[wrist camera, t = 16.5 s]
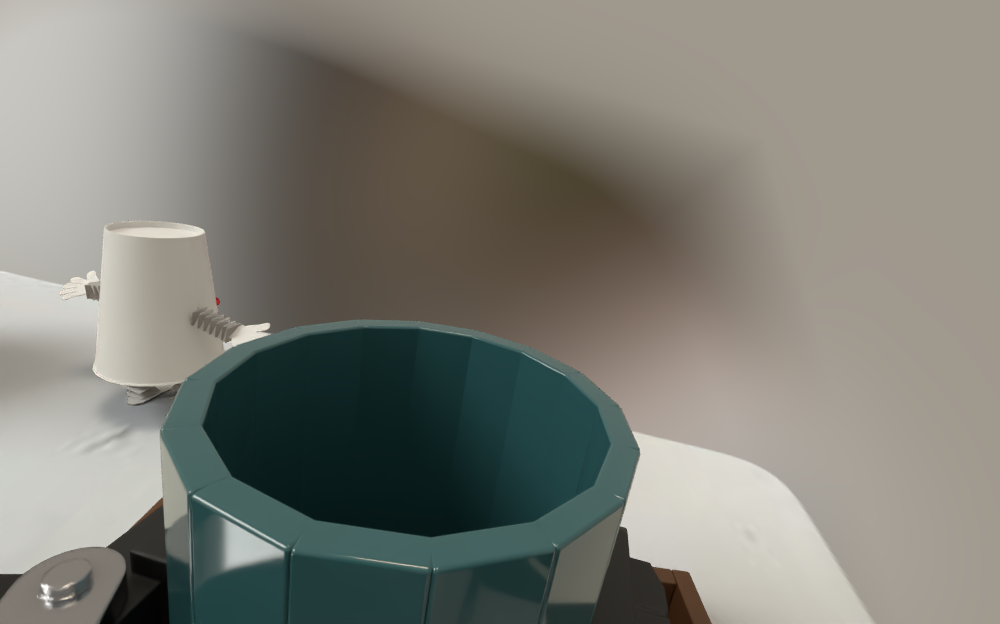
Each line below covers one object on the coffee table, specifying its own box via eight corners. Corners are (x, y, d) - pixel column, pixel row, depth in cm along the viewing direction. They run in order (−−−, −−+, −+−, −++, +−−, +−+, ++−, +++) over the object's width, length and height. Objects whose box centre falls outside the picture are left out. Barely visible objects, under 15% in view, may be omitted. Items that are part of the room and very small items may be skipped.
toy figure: (310, 411, 25) (318, 248, 22) (217, 471, 20) (213, 268, 17) (136, 351, 28) (126, 202, 25) (17, 389, 23) (-12, 206, 20)
